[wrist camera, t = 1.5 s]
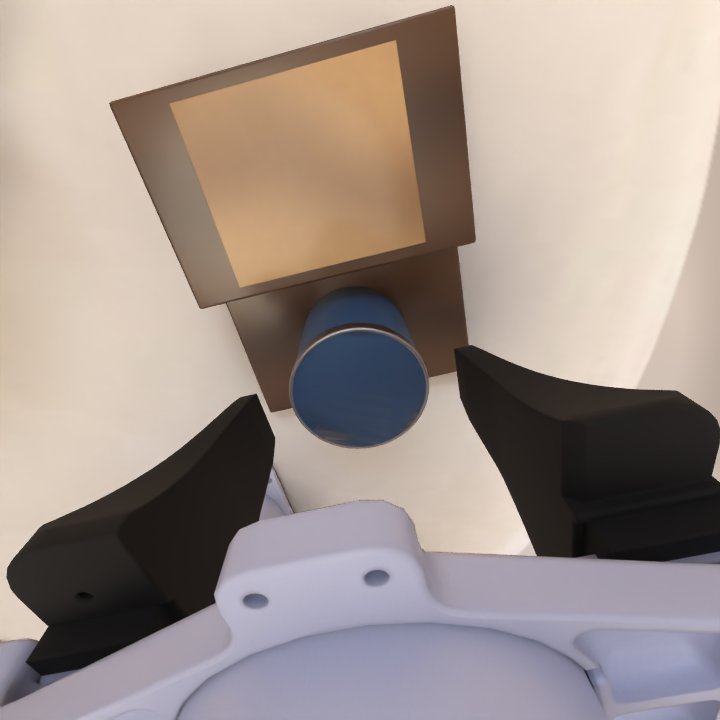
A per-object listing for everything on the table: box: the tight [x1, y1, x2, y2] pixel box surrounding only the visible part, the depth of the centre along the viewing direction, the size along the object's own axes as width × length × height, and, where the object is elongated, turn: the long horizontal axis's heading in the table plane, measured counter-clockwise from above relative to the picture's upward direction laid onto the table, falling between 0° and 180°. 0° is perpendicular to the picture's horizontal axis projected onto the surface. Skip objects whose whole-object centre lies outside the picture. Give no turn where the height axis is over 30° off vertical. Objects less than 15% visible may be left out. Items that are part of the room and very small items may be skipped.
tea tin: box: [289, 286, 429, 449], centre depth 16 cm, size 5×5×6 cm
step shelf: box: [109, 5, 476, 412], centre depth 16 cm, size 14×11×4 cm
